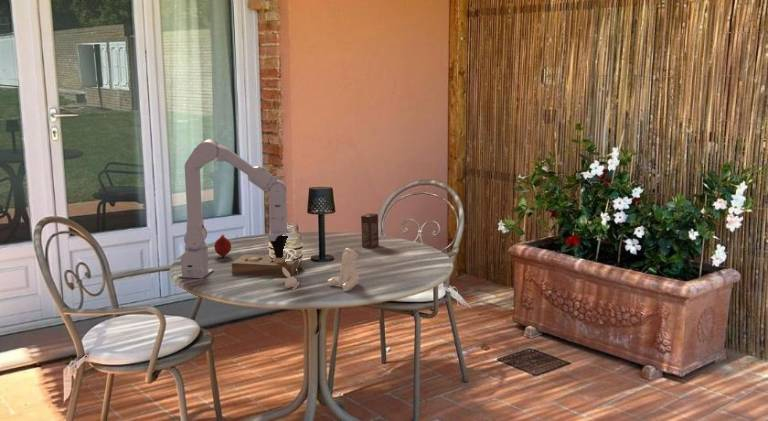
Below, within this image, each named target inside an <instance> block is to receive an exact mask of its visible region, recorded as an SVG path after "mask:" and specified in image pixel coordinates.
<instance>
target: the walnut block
mask: <svg viewBox="0 0 768 421" xmlns="http://www.w3.org/2000/svg"><path fill="white" fill-rule="evenodd" d="M270 256H271V255H259V254H258V255H257V254H242V255H241V256H240V257H238V258H237V259H235V260H234V261H232V262H231V273H232V274H238V275H257V276H272V277H273V276H277V277H278V276H279V277H286V276H285V275H284V273H283V271H282V267H284V268H286V270H287V271H288V272H289V273H290V277H293V275H294V274H295V273H296V272H297V271H296V269H297V268H298V260H295V261H286V262H285V263H273V259H271V258H270ZM252 257H257V258H260V261H259V262H252V261H248V260H247V259H248V258H252Z"/></svg>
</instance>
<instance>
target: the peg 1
mask: <svg viewBox="0 0 768 421" xmlns="http://www.w3.org/2000/svg"><path fill="white" fill-rule="evenodd" d="M247 260H248V261H252V262H259V261H260V258H257V257H252V258H248V259H247Z"/></svg>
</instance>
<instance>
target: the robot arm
mask: <svg viewBox="0 0 768 421" xmlns="http://www.w3.org/2000/svg"><path fill="white" fill-rule="evenodd" d="M215 159H216V162H226V163H227V164H229V165H231V166H233V167H235V168H236V169H237V170H239V171H241V172H242V173H244V174H245V175H247V179H248V181H249V182H250V183H252V184H253V185H254V186H257V188H259V189H261V190H262V191H264V192H267V193H268V196H269V203H268V208H269V210H268V211H269V213H268V214H269V235H268V241H269V242H270V244H271V245H272V249H273V251H274V256H276V258H282V257H283V256H284V255H283V249H284V246H285V247H286V245H285V243H286V244H287V242H286V240H287V238H288V236H282V235H283V234H284V235H287V234H291V232H292V230H291V229H289V227H288V228H287V226H288V203H287V196H286V195H287V194H288V191H287V184H286V183H285V182H284V181H283V180H282V179H280V178H279V177H278V176H276V175H275V176H274V175H273V174H272V173H270V172H268V171H267V170H266V167H264V166H259V165H255V166H253V165H252V164H250V163H249V162H248V161H246V160H245V159H243V158H242V157H241V156H240V155H238V154H237V153H235V152H234V151H233V150H231V148H230V149H229V148H228V147H227V146H225V144H224V145H223V144H222V143H218V142H217V141H216V140H215V139H214V138H213V139H212V138H208V139H207V138H206V139H204V140H203V141H201V142H200V143H199V144H197V146H196V147H194V149H193V150H192V152H191V154H190V155H189V157H188V158H187V160H186V161H185V162H184V179H185V202H186V217H187V218H186V232H185V235H184V237H183V240H184V252H183V254H182V255H181V258H180V266H181V267H180V268H181V274H179V275H178V277H179V278H191V279H203V278H204V277H206V276H208V275H209V274H211V273H212V272H213V271H214V269H213V268H209V252H208V248H209V247H208V243H207V242H206V241H205V240H206V239H207V236H208V231H207V229H206V227H205V225H204V218H203V204H202V184H201V169H202V168H204V166H205V165H206V164H209V163H211V162H213V161H214V160H215ZM288 239H289V238H288ZM287 241H288V240H287Z"/></svg>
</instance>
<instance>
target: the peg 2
mask: <svg viewBox="0 0 768 421" xmlns="http://www.w3.org/2000/svg"><path fill="white" fill-rule="evenodd" d="M274 256H275V255H274ZM273 263H285V258H276V256H275V257H273Z"/></svg>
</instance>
